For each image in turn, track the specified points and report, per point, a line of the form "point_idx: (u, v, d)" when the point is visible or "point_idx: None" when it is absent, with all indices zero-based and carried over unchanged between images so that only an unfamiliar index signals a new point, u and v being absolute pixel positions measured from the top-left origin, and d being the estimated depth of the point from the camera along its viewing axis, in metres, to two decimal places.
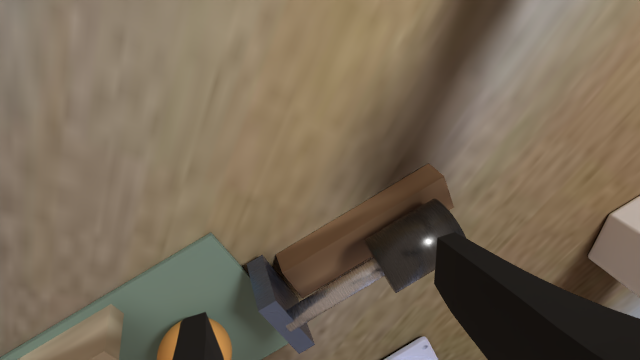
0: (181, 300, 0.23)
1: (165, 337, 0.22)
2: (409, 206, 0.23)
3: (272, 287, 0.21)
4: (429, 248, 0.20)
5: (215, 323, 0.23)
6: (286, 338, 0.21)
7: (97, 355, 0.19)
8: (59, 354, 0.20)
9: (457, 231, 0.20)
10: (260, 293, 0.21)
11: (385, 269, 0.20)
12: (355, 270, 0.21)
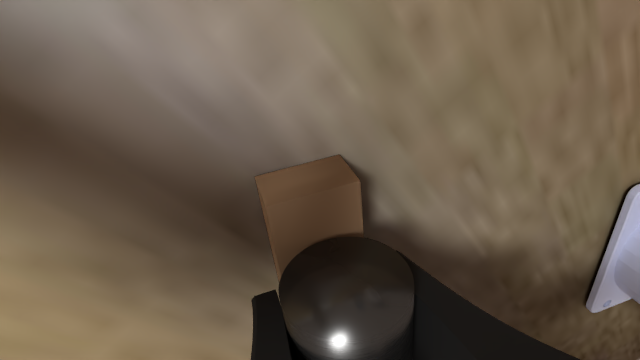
0: None
1: None
2: None
3: None
4: None
5: None
6: None
7: None
8: None
9: (332, 345, 0.08)
10: None
11: None
12: None
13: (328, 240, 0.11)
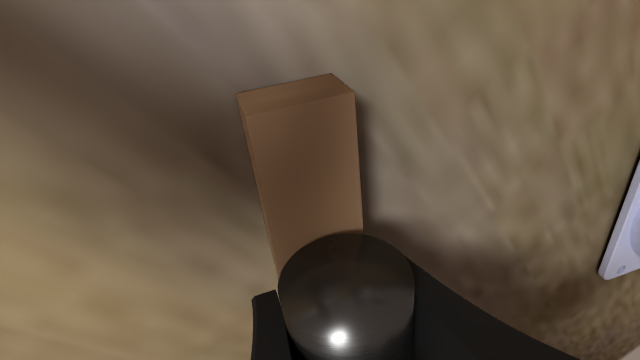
0: None
1: None
2: (290, 199, 0.10)
3: None
4: None
5: None
6: None
7: None
8: None
9: (331, 342, 0.08)
10: None
11: None
12: None
13: (328, 237, 0.11)
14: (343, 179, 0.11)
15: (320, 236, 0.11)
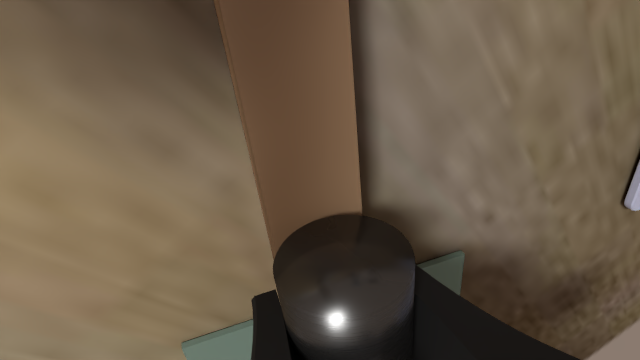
0: None
1: None
2: (258, 25, 0.08)
3: None
4: None
5: None
6: None
7: None
8: None
9: (328, 322, 0.08)
10: None
11: None
12: None
13: (326, 218, 0.11)
14: (327, 4, 0.08)
15: (299, 89, 0.09)
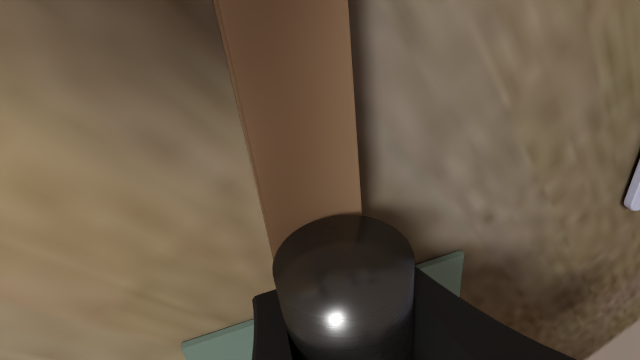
0: None
1: None
2: (257, 25, 0.08)
3: None
4: None
5: None
6: None
7: None
8: None
9: (328, 323, 0.08)
10: None
11: None
12: None
13: (325, 218, 0.11)
14: (326, 4, 0.08)
15: (298, 89, 0.09)
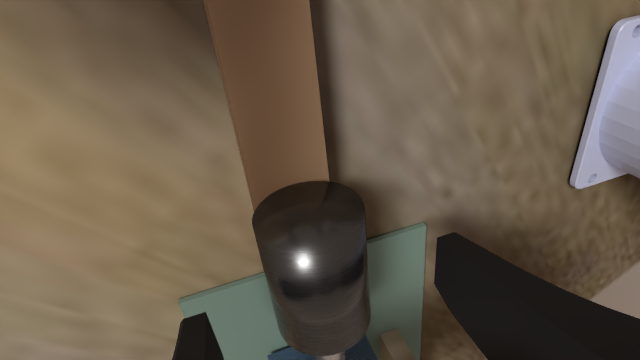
0: (265, 339, 0.19)
1: None
2: (238, 25, 0.10)
3: None
4: (302, 299, 0.11)
5: None
6: None
7: None
8: None
9: (293, 257, 0.10)
10: None
11: (304, 352, 0.13)
12: None
13: (297, 184, 0.13)
14: (293, 8, 0.11)
15: (273, 76, 0.11)
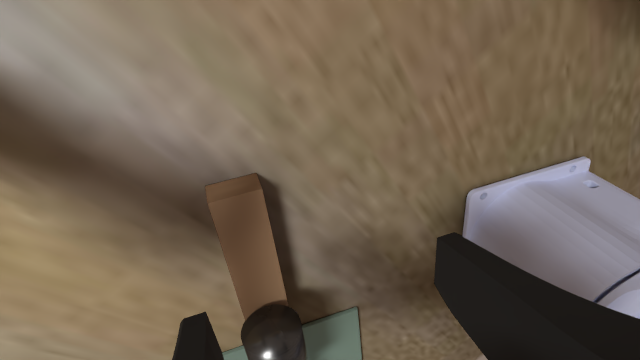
0: None
1: None
2: (233, 239, 0.20)
3: None
4: None
5: None
6: None
7: None
8: None
9: (261, 358, 0.20)
10: None
11: None
12: None
13: (267, 306, 0.23)
14: (261, 228, 0.20)
15: (252, 257, 0.21)
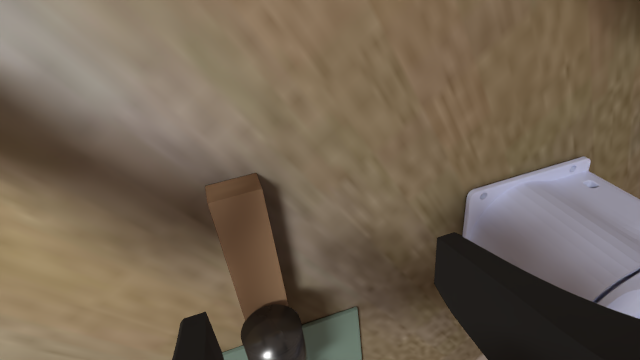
0: None
1: None
2: (233, 239, 0.20)
3: None
4: None
5: None
6: None
7: None
8: None
9: (261, 358, 0.20)
10: None
11: None
12: None
13: (267, 306, 0.23)
14: (261, 228, 0.20)
15: (252, 257, 0.21)
